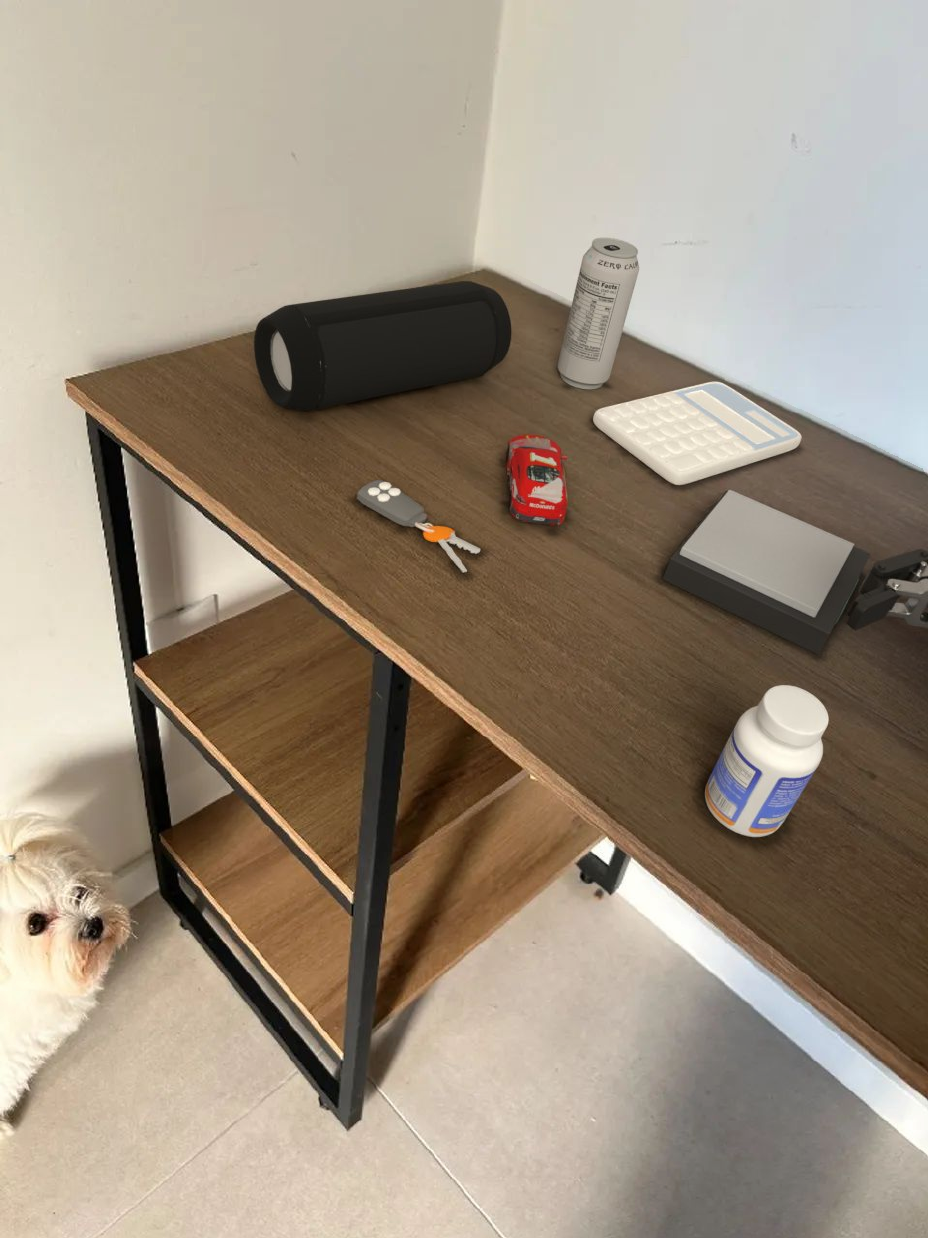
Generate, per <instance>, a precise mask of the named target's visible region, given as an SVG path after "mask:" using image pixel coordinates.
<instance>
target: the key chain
mask: <svg viewBox="0 0 928 1238" xmlns="http://www.w3.org/2000/svg"><path fill="white" fill-rule="evenodd" d="M356 495H357V496H356V500H358V501H359V502H360V503H361V504H363V505H364V506H366V507H367V508H369V509H371V510H373V511H375V512H376V513H378V514H380V515H382V516H383V517H385V518H387V519H388V520H390V521H392V522H394V523H395V524H398V525H401V526H403V527H410V528H414V527H416V528H418V529H420V530H422V536H423V538H424V539H425V540H426V541H428V542H431V543H438V544H439V545H440V546H441V548H442V549H443V550H444V551H445V552H446V554H447V556H448V557H449V558H450V559H451V560H452V561H453V563H454V564H455V565H456V566H457V568H458V569H459V570H460V571H461V572H462V573H467V572H468V569H467V568H466V567H465V565H464V563H462V562H463V561H462V560H461V558H460V557H458V556H457V554H456V553H455V552H454V549H453V548H452V547H451V546H450V545H449V544H451V545H456V547H457V548H459V549H462V548H463V550H464V551H467V550H468V551H469V553H471V554H475V555H477V554H479V553H480V552H481V548H480V547H479V546H476V545H474V544H472V543H470V542H468V541H465V540H464V539H461V538H460V537H457V536H456V531H455V530H454V529H452V528H451V527H448V526H442V525H433V524H432V523H430V522H426V521H427V517H428V514H427V513H425V508H424V507H423V506H422V505H421V504H419V503H418V502H417V501H416V500H414V499H413V498H411V497H410V496H409V495H407V494H406V493H404V492H403V491H401V489H400V488H397V487H396V486H394V485H392V484H391V483H390V482H387V481H385V480H382V479H375V480H373V481H371V482H369V483H366V484H365V485H363V486H361V488H359V490H358V491H357V494H356Z"/></svg>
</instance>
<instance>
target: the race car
mask: <svg viewBox="0 0 928 1238" xmlns="http://www.w3.org/2000/svg"><path fill="white" fill-rule="evenodd" d="M568 459H569V457H568V456H567V455H565V454H564V455H563V454H562V447H560V446H559V444H558V443H556V442H555V441H554V440H552V439H549V438H547V437H545V436H541V435H538V434H523V435H517V436H515V437H513V438H511V439H510V440H509V441H508V444H507V450H506V457H505V462H506V476H507V494H508V495H507V496H508V506H507V507H508V510H509V512H510V515H512V517H513V518H515V519H516V520H519V521H522V522H523V523H531V524H539V525H549V526H552V527H555V525H556V526H560V525H562V523H563V522H564V521H565V518H566V513H567V508H568V500H569V497H568V490H567V483H566V474H565V468H564V467H565V466H564V460H568Z"/></svg>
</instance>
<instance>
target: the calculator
mask: <svg viewBox="0 0 928 1238" xmlns="http://www.w3.org/2000/svg"><path fill="white" fill-rule="evenodd" d="M592 421H593V424H594V426H595V427H597V429H599V430H600V431H601V432H602V433H604V434H605V435H606V436H608V437H609V438H610V439H611V440H613V441H614V442H615V443H617V445H619V446H621V447H622V448H623V449H624V450H626V451H627V452H628V453H630V454H631V455H633V456H634V457H635V458H636V459H638V460H639V461H641V463H643V464H644V465H646V466H647V467H648V468H649V469H651V470H652V471H653V472H654V473H656V474H658V475H659V476H660V477H662V478H663V479H664V480H666V481H667V482H669V483H670V484H672V485H675V486H683V485H688V484H691V483H695V482H697V481H701V480H704V479H706V478H709V477H714V476H716V475H719V474H722V473H725V472H728V471H732V470H734V469H738V468H741V467H744V466H748V465H750V464H753V463H757V462H760V461H763V460H766V459H770V458H773V457H775V456H779V455H782V454H785V453H787V452H790V451H793V450H795V449H796V448H798V447H799V445H800V443H801V441H802V438H803V437H802V435H801V433H800V432H799V431H798V430H797V429H795V428H794V427H793V426H791V425H789V423H786V422H784V420H782V419H780V418H779V417H777V416H775V415H774V414H772V413H771V412H769V411H768V410H766V409H765V408H763V407H762V406H760V405H758V404H757V403H756V402H754V401H752V400H751V399H749V398H748V397H746V396H745V395H743V394H741V393H740V392H738V391H737V390H735V389H733V388H732V387H730V386H729V385H727V384H726V383H723V382H722V381H721V382H720V381H717V380H716V381H715V380H714V381H709V382H704V383H700V384H699V383H698V384H695V385H692V386H691V385H690V386H687V387H684V388H679V389H675V390H671V391H667V392H662V393H658V394H655V395H650V396H646V397H642V398H638V399H633V400H630V401H626V402H621V403H618V404H617V403H616V404H613V405H609V406H605V407H601V408H599V409H597V410H596V411H595V412H594V414H593V418H592Z"/></svg>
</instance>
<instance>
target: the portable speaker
mask: <svg viewBox="0 0 928 1238" xmlns="http://www.w3.org/2000/svg"><path fill="white" fill-rule="evenodd" d="M512 334H513V333H512V321H511V316H510V312H509V309H508V307H507V304H506V302H505V301H504V299H503V297H502V296H501V295H500V294H499V292H497V291H496V290H495V289H494V288H491V287H489V286H487V285H484V284H481V283H477V282H474V281H472V280H460V281H454V282H453V281H452V282H446V283H439V284H432V285H430V284H429V285H424V286H418V287H417V286H416V287H411V288H410V287H409V288H403V289H402V288H401V289H394V290H386V291H379V292H373V293H365V294H357V295H350V296H344V297H338V298H337V297H336V298H329V299H320V300H315V301H307V302H301V303H300V302H299V303H292V304H286V305H283V306H281V307H280V308H278V309H276V310H274V311H273V312H271V313H270V314H267V315H266V316H265V317H262V319H260V320H259V322H258V323H257V325H256V328H255V331H254V337H253V350H254V352H253V353H254V359H255V364H256V369H257V373H258V376H259V380H260V382H261V384H262V387H263V389H264V391H265V393H266V394H267V396H268V397H269V399H270V400H271V401H272V402H273V403H274V404H275V405H277V406H278V407H281V408H286V409H290V410H296V411H301V412H311V411H312V412H313V411H316V410H321V409H325V408H331V407H335V406H340V405H344V404H345V405H346V404H350V403H354V402H358V401H362V400H363V401H364V400H367V399H373V398H378V397H382V396H387V395H392V394H397V393H402V392H406V391H413V390H416V389H422V388H428V387H431V386H439V385H444V384H449V383H454V382H459V381H463V380H468V379H473V378H477V377H482V376H484V375H485V374H487V373H488V372H490V371H491V370H492V369H494V368H495V367H496V366H498V365H499V364H500V363H501V362H502V361H503V360H504V359H505V358H506V356H507V355H508V352H509V350H510V347H511V342H512Z"/></svg>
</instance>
